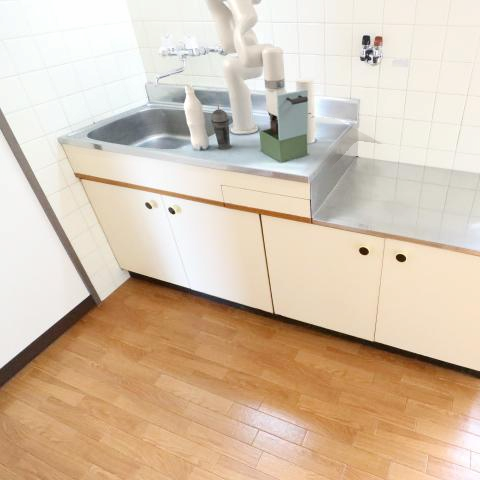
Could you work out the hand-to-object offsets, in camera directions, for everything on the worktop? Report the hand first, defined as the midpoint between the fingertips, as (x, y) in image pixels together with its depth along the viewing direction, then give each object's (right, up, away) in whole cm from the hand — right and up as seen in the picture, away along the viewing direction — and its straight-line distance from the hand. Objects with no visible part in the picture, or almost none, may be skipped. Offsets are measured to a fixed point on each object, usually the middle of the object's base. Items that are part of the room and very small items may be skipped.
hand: (278, 131), depth 150 cm
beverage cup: (-24, -4, +9) cm, 26 cm away
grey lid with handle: (+7, +2, -13) cm, 14 cm away
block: (0, 0, 0) cm, 0 cm away
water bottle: (-34, -5, +8) cm, 35 cm away
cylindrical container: (+11, 0, +13) cm, 17 cm away
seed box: (+2, -8, +2) cm, 9 cm away
